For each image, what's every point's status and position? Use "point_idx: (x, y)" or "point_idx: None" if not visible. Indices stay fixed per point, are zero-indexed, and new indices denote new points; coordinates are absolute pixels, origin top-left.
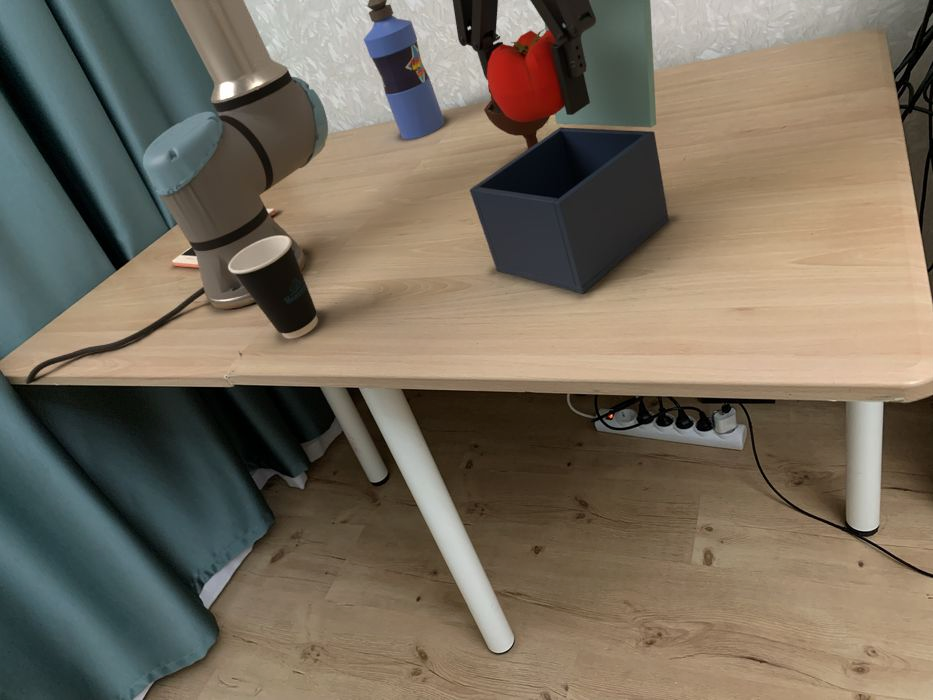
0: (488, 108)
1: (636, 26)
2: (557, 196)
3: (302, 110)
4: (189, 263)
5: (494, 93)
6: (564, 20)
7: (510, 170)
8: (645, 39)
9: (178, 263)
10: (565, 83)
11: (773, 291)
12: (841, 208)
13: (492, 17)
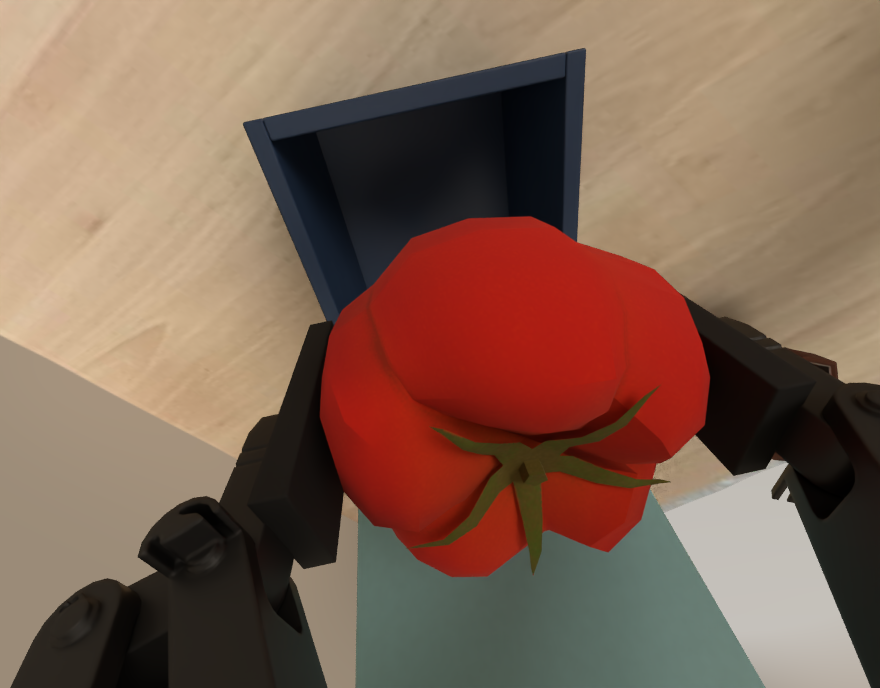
0: (827, 369)
1: (381, 598)
2: None
3: None
4: None
5: (555, 228)
6: (88, 683)
7: (557, 202)
8: (359, 569)
9: None
10: (290, 385)
11: (114, 273)
12: (232, 411)
13: (864, 603)
